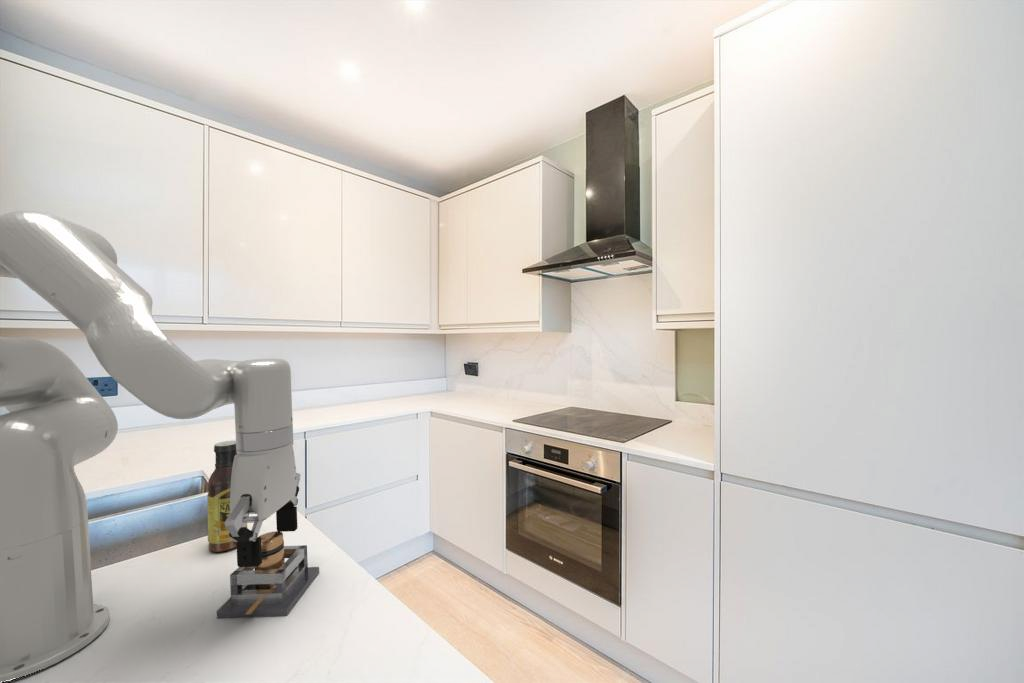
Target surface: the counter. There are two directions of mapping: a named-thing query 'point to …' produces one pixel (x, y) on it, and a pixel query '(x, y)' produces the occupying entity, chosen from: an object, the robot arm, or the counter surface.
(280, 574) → the collar stand
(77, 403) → the robot arm
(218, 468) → the sauce bottle
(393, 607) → the counter surface
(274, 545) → the copper tube
